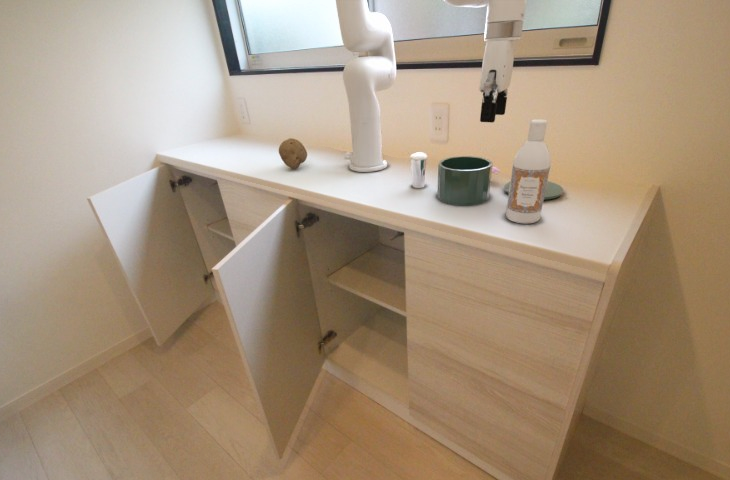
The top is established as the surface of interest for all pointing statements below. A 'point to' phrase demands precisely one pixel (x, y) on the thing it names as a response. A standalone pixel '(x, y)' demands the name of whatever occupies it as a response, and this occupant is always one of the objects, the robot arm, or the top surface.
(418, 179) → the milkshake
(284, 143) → the brown potato
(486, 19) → the robot arm
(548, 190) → the pot lid
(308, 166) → the top surface
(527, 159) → the bath foam
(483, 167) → the pot
